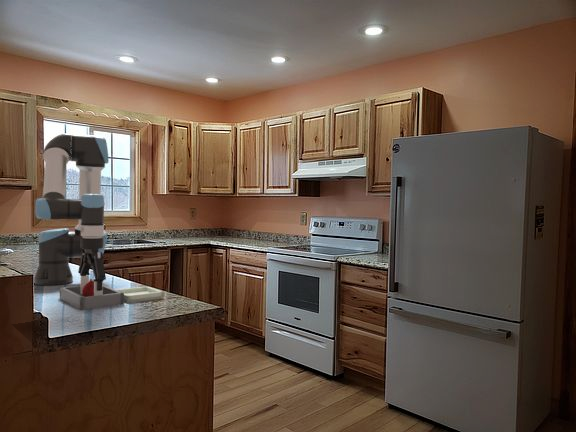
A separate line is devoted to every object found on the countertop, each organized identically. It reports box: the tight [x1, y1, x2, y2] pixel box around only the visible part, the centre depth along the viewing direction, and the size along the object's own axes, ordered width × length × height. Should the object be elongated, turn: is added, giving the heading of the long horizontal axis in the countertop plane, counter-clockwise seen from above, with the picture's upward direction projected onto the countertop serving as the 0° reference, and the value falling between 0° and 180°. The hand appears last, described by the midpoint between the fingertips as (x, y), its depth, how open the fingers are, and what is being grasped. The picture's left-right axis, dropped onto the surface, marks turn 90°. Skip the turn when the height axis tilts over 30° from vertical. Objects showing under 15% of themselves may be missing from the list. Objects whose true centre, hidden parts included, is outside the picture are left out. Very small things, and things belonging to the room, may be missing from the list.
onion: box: [82, 278, 94, 297], centre depth 159 cm, size 6×6×8 cm
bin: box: [59, 284, 125, 311], centre depth 159 cm, size 22×14×4 cm, turn 43°
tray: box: [116, 285, 165, 304], centre depth 168 cm, size 14×14×2 cm
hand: (91, 296), depth 159 cm, fingers open, 13 cm apart
